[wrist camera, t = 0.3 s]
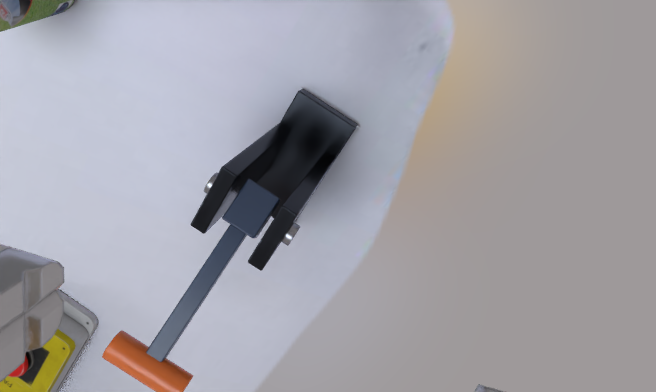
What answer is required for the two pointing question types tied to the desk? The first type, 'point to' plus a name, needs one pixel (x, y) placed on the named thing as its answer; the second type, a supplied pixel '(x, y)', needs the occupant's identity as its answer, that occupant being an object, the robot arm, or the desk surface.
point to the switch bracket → (281, 169)
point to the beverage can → (29, 11)
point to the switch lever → (192, 297)
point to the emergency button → (54, 353)
